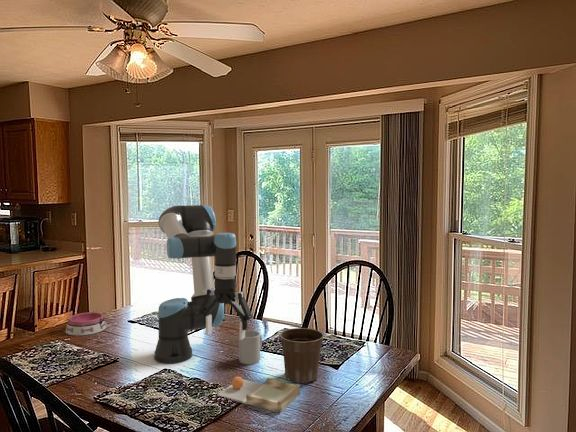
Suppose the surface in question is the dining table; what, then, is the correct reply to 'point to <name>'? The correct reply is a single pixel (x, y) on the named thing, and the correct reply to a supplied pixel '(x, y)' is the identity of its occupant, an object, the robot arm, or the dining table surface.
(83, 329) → the dog bowl
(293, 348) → the plant pot
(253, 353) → the mug
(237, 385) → the ball
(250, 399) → the fence
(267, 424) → the dining table surface
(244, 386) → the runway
